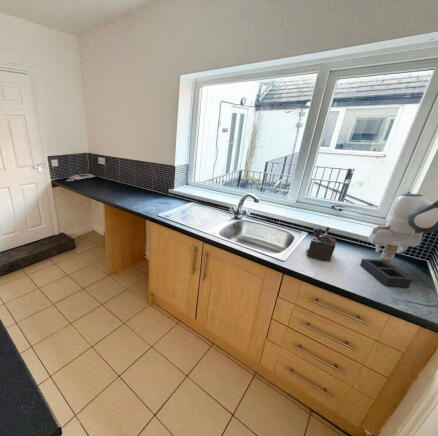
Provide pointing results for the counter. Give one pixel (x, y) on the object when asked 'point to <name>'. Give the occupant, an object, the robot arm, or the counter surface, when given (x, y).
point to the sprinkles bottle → (389, 252)
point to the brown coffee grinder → (321, 245)
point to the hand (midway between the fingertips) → (388, 252)
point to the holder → (385, 273)
